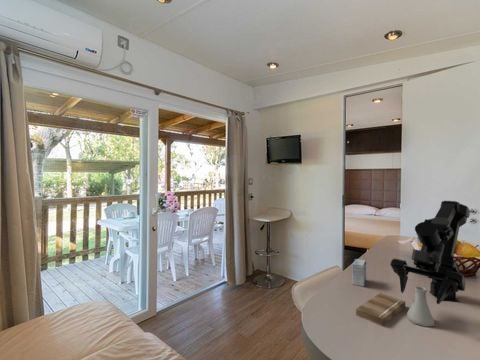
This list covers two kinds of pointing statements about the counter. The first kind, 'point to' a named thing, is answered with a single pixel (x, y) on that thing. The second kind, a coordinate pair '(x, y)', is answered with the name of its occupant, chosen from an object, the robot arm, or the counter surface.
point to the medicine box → (359, 272)
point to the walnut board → (380, 308)
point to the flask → (420, 309)
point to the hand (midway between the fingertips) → (418, 297)
